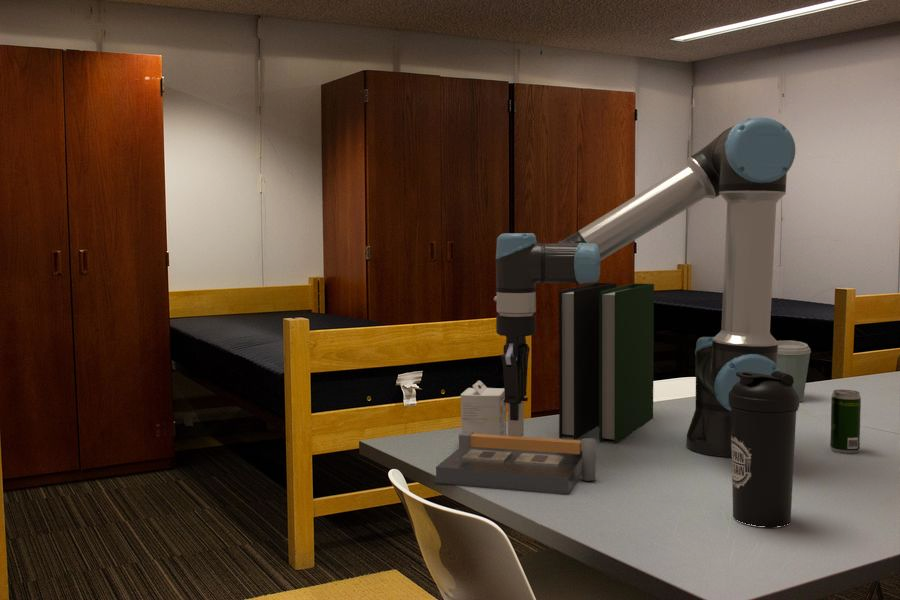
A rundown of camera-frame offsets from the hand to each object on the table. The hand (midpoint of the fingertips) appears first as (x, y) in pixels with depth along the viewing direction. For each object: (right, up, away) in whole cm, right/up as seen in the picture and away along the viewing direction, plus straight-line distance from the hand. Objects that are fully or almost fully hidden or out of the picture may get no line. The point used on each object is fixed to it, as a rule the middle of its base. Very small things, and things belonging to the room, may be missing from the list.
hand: (515, 435), depth 167 cm
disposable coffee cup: (+75, 0, +57) cm, 94 cm away
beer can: (+67, -4, +7) cm, 67 cm away
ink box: (-5, -5, +15) cm, 17 cm away
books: (+23, -3, +30) cm, 38 cm away
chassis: (-1, -6, -6) cm, 9 cm away
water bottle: (+36, -8, -32) cm, 49 cm away
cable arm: (+2, -6, -7) cm, 9 cm away
